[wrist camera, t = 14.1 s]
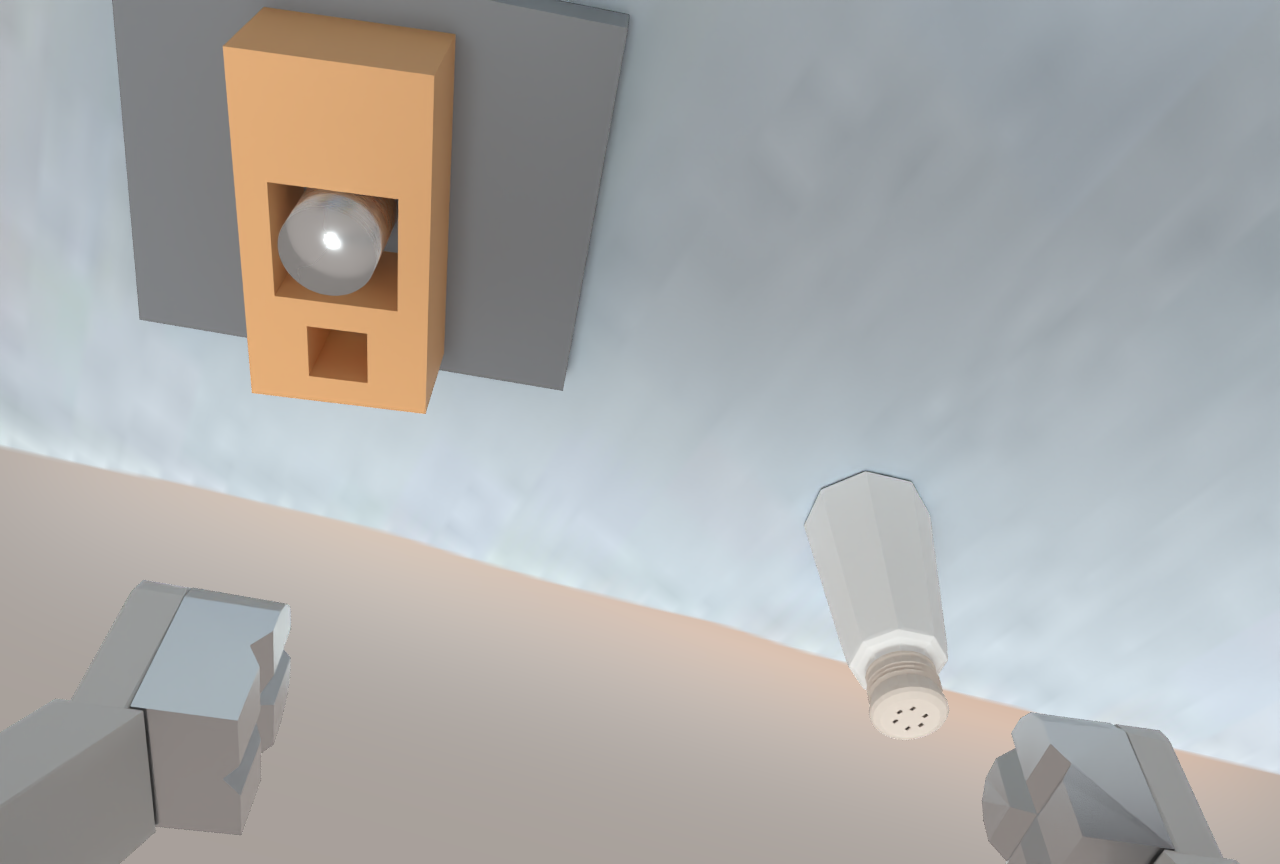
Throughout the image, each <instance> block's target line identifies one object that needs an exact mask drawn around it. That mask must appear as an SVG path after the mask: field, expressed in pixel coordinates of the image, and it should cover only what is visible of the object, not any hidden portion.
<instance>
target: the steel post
mask: <svg viewBox="0 0 1280 864" xmlns="http://www.w3.org/2000/svg"><path fill="white" fill-rule="evenodd" d="M397 219H398V199H392V198H384V197H377V196H369V195H362V194H354V193H346V192H339V191H331V190H324V189H316V188H309V187H307V188H306V190H305V192H304V193H303V195H302V196H301V198H300V199H299V201H298V203H297V204H296V206H295V207H294V209H293V210H292V212H291V214H290V215H289V217H288V218H287V220H286V221H285V223H284V225H283V226H282V228H281V230H280V233H279V236H278V252H279V256H280V259H281V262H282V264H283V266H284V267H285V269H286V270H287V272H288V273H289V274H290V275H291V277H292V278H294V279H295V280H296V281H297V282H298V283H299V284H301V285H302V286H304V287H306V288H307V289H309V290H311V291H314V292H316V293H319V294H324V295H330V296H340V295H346V294H350V293H353V292H355V291H357V290H359V289H360V288H362V287H363V286H364V285H365V284H366V283H367V282H368V281H369V280H370V278H371V276H372V274H373V272H374V270H375V268H376V266H377V263H378V261H379V259H380V257H381V255H382V252H383V250H384V248H385V246H386V244H387V241H388V239H389V237H390V235H391V233H392V230H393V228H394V226H395V224H396V221H397Z"/></svg>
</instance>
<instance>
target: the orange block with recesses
mask: <svg viewBox="0 0 1280 864" xmlns="http://www.w3.org/2000/svg"><path fill="white" fill-rule="evenodd" d="M455 40H456V34H451V33H444V32H437V31H430V30H423V29H416V28H409V27H402V26H395V25H388V24H381V23H374V22H367V21H360V20H353V19H346V18H339V17H332V16H325V15H317V14H310V13H303V12H296V11H289V10H282V9H275V8H268V7H263V8H262V9H261V10H260V11H259V12H258V13H257V14H256V15H255V16H254V17H253V18H252V19H251V20H250V21H249V22H248V23H246V24H245V25H244V26H243V27H242V28H241V29H240V30H239V31H238V32H237V33H236V34H235V35H234V36H233V37H232V38H231V39H230V40H229V41H228V42H227V43H225V44H224V45H223V56H224V68H225V80H226V92H227V103H228V115H229V127H230V139H231V151H232V162H233V174H234V186H235V198H236V210H237V222H238V233H239V245H240V257H241V269H242V281H243V292H244V304H245V316H246V328H247V340H248V352H249V363H250V375H251V387H252V393H257V394H265V395H273V396H282V397H290V398H298V399H307V400H315V401H323V402H331V403H340V404H348V405H356V406H365V407H373V408H381V409H389V410H398V411H406V412H414V413H423V414H426V410H427V407H428V404H429V401H430V397H431V394H432V391H433V387H434V384H435V381H436V378H437V374H438V371H439V368H440V365H441V361H442V358H443V355H444V339H445V312H446V285H447V257H448V230H449V203H450V176H451V149H452V121H453V94H454V67H455ZM304 187H309V188H316V189H324V190H331V191H339V192H346V193H354V194H362V195H369V196H377V197H384V198H392V199H398V253H395V252H387V251H383V252H382V255H381V257H380V259H379V261H378V263H377V266H376V268H375V270H374V272H373V274H372V276H371V278H370V280H369V281H368V282H367V283H366V284H365V285H364V286H363V287H362V288H360V289H359V290H357V291H355V292H353V293H350V294H346V295H340V296H330V295H324V294H319V293H316V292H314V291H311V290H309V289H307V288H306V287H304V286H302V285H301V284H299V283H298V282H297V281H296V280H295V279H294V278H292V277H291V275H290V274H289V273H288V272H287V270H286V269H285V267H284V266H283V264H282V262H281V259H280V256H279V252H278V236H279V233H280V230H281V228H282V226H283V225H284V223H285V221H286V220H287V218H288V217H289V215H290V214H291V212H292V210H293V209H294V207H295V206H296V204H297V203H298V201H299V199H300V198H301V196H302V195H303V193H304Z"/></svg>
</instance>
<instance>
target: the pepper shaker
mask: <svg viewBox="0 0 1280 864" xmlns="http://www.w3.org/2000/svg"><path fill="white" fill-rule="evenodd" d="M804 527H805V531H806V534H807V537H808V540H809V544H810V547H811V550H812V553H813V557H814V560H815V563H816V566H817V569H818V573H819V576H820V579H821V582H822V586H823V589H824V592H825V595H826V598H827V602H828V605H829V608H830V611H831V615H832V618H833V621H834V624H835V627H836V631H837V634H838V637H839V640H840V644H841V647H842V650H843V653H844V656H845V658H846V661H847V663H848V666H849V668H850V669H851V671H852V672H853V674H854V675H855V677H856V678H857V680H858V681H859V683H860V684H861V686H862V687H863V688H864V689H866V690H867V695H868V701H869V704H870V708H869V716H870V721H871V723H872V725H873V726H874V727H875V728H876V729H877V730H878V731H879V732H881V733H882V734H884V735H886V736H888V737H891V738H895V739H901V740H902V739H903V740H910V739H917V738H921V737H924V736H927V735H929V734H931V733H933V732H934V731H936V730H937V729H938V728H940V727H941V726H942V724H943V723H944V722H945V720H946V718H947V717H948V713H949V707H948V703H947V699H946V698H945V696H944V694H943V693H942V686H941V682H940V679H939V676H938V675H939V673H940V671H941V670H942V668H943V667H944V665H945V663H946V662H947V660H948V654H947V641H946V633H945V626H944V618H943V610H942V603H941V595H940V587H939V580H938V572H937V564H936V557H935V549H934V541H933V534H932V526H931V518H930V514H929V512H928V511H927V509H926V507H925V505H924V503H923V501H922V500H921V498H920V496H919V494H918V492H917V491H916V489H915V487H914V485H913V483H912V482H910V481H905V480H901V479H897V478H893V477H888V476H884V475H880V474H875V473H871V472H867V471H865V472H862V473H860V474H857V475H855V476H853V477H850V478H848V479H845V480H843V481H840V482H838V483H836V484H833V485H831V486H828V487H826V488H823V489H822V490H821V491H820V493H819V495H818V497H817V499H816V501H815V503H814V506H813V508H812V510H811V512H810V514H809V516H808V518H807V521H806V523H805V525H804Z"/></svg>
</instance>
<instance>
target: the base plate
mask: <svg viewBox="0 0 1280 864" xmlns="http://www.w3.org/2000/svg"><path fill="white" fill-rule="evenodd" d="M112 4H113V15H114V27H115V39H116V50H117V62H118V74H119V85H120V97H121V108H122V120H123V132H124V143H125V155H126V167H127V178H128V190H129V201H130V213H131V225H132V236H133V248H134V260H135V271H136V283H137V294H138V306H139V318H140V320H145V321H151V322H157V323H163V324H169V325H175V326H181V327H187V328H193V329H199V330H205V331H211V332H216V333H222V334H228V335H234V336H240V337H246V338H247V328H246V316H245V304H244V292H243V281H242V269H241V257H240V245H239V233H238V222H237V210H236V198H235V186H234V174H233V162H232V151H231V139H230V127H229V115H228V103H227V92H226V80H225V68H224V56H223V45H224V44H225V43H227V42H228V41H229V40H230V39H231V38H232V37H233V36H234V35H235V34H236V33H237V32H238V31H239V30H240V29H241V28H242V27H243V26H244V25H245V24H246V23H248V22H249V21H250V20H251V19H252V18H253V17H254V16H255V15H256V14H257V13H258V12H259V11H260V10H261V9H262V8H263V7H268V8H275V9H282V10H289V11H296V12H303V13H310V14H317V15H325V16H332V17H339V18H346V19H353V20H360V21H367V22H374V23H381V24H388V25H395V26H402V27H409V28H416V29H423V30H430V31H437V32H444V33H451V34H456V40H455V67H454V94H453V121H452V149H451V176H450V203H449V230H448V257H447V285H446V312H445V339H444V355H443V358H442V361H441V365H440V368H439V370H442V371H448V372H454V373H460V374H466V375H472V376H478V377H484V378H490V379H496V380H502V381H508V382H514V383H520V384H526V385H532V386H538V387H544V388H550V389H555V390H561V391H563V387H564V381H565V376H566V370H567V365H568V359H569V353H570V348H571V342H572V337H573V331H574V326H575V320H576V315H577V309H578V303H579V298H580V292H581V287H582V281H583V276H584V270H585V265H586V259H587V253H588V248H589V242H590V237H591V231H592V226H593V220H594V214H595V209H596V203H597V198H598V192H599V187H600V181H601V176H602V170H603V164H604V159H605V153H606V148H607V142H608V137H609V131H610V126H611V120H612V114H613V109H614V103H615V98H616V92H617V87H618V81H619V75H620V70H621V64H622V59H623V53H624V48H625V42H626V37H627V31H628V23H629V14H624V13H619V12H614V11H609V10H604V9H599V8H594V7H589V6H584V5H579V4H574V3H569V2H564V1H559V0H112ZM306 188H307V187H304V192H305V190H306ZM383 251H387V252H395V253H398V219H397V221H396V224H395V226H394V228H393V230H392V233H391V235H390V237H389V239H388V241H387V244H386V246H385V248H384V250H383Z"/></svg>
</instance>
